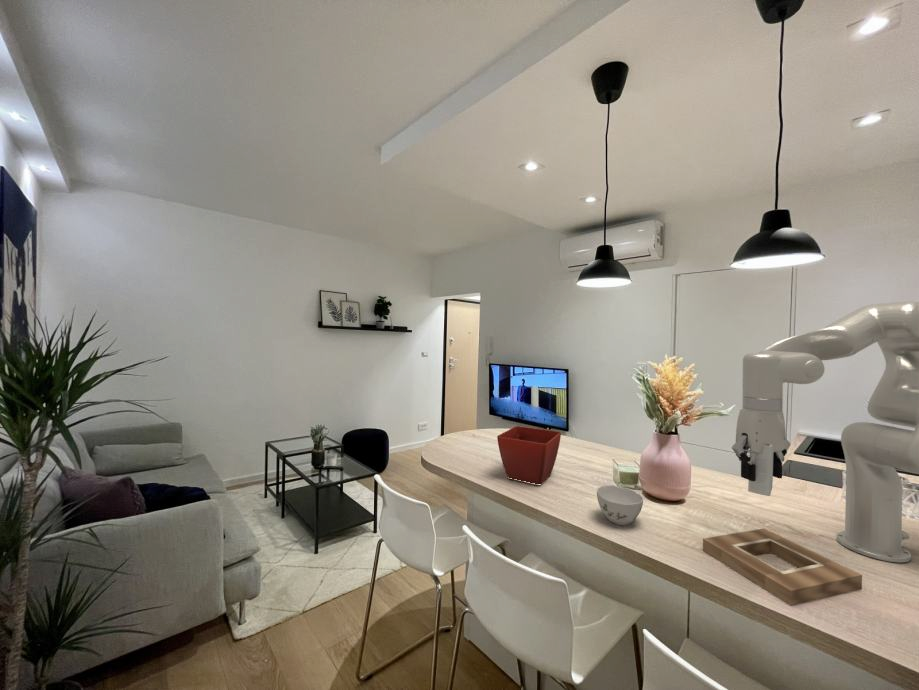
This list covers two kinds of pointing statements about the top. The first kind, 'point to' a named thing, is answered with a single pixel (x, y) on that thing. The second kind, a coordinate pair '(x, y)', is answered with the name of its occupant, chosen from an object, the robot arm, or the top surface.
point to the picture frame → (790, 586)
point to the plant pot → (529, 453)
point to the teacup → (619, 503)
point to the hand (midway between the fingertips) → (761, 477)
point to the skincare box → (763, 472)
